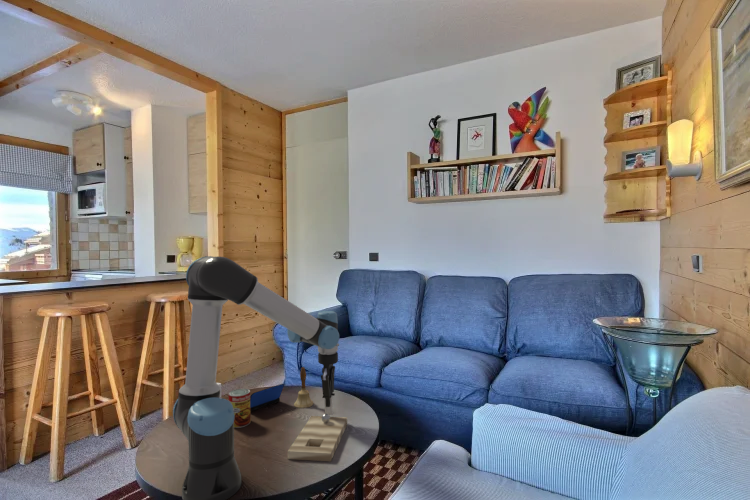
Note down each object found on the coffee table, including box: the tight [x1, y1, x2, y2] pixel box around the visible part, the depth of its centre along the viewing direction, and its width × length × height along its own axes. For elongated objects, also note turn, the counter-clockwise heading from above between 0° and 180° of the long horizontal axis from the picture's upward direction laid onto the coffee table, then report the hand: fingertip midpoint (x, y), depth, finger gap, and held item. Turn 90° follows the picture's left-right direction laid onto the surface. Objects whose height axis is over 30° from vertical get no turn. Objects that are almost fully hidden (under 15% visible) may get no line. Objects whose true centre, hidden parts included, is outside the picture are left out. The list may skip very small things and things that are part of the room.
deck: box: [287, 415, 348, 462], centre depth 133 cm, size 26×14×2 cm, turn 173°
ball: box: [321, 413, 331, 423], centre depth 141 cm, size 3×3×3 cm
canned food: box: [228, 388, 252, 429], centre depth 148 cm, size 8×8×12 cm
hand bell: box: [293, 366, 314, 409], centre depth 165 cm, size 8×8×16 cm
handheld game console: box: [250, 383, 285, 412], centre depth 165 cm, size 16×13×9 cm
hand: (328, 413), depth 146 cm, fingers closed
